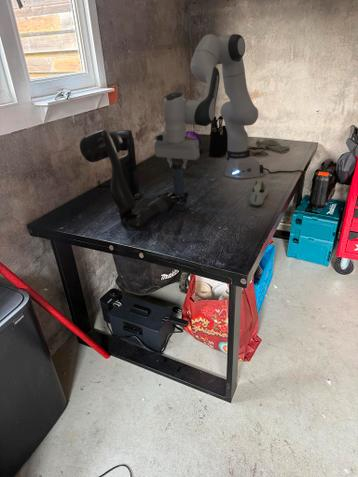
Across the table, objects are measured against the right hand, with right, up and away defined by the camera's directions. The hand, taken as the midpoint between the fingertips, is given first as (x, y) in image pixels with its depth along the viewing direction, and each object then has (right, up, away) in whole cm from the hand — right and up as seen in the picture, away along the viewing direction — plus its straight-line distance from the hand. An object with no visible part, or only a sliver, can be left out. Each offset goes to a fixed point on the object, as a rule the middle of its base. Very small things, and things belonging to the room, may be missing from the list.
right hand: (177, 168), depth 144 cm
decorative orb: (+9, +30, +90) cm, 95 cm away
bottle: (+1, -17, +10) cm, 20 cm away
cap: (0, +2, -1) cm, 2 cm away
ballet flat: (+39, -11, +16) cm, 44 cm away
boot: (+29, +42, +108) cm, 119 cm away
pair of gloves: (+58, +30, +85) cm, 107 cm away
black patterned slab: (+29, +28, +84) cm, 94 cm away
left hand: (+2, -10, +8) cm, 13 cm away
